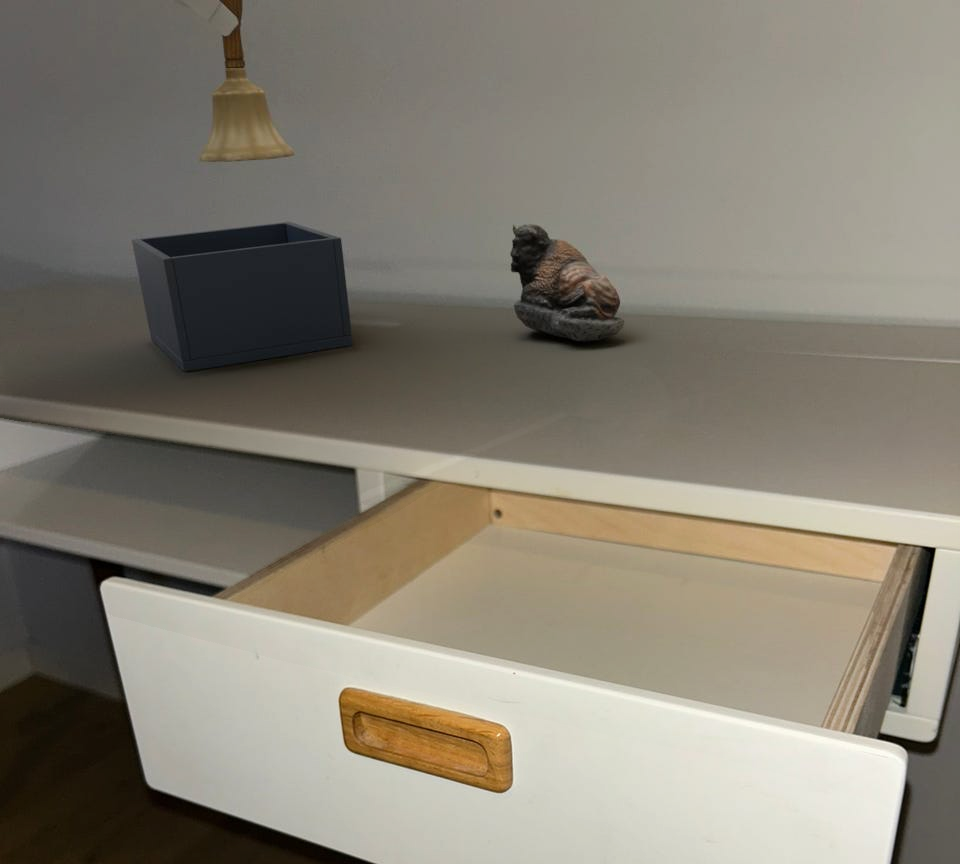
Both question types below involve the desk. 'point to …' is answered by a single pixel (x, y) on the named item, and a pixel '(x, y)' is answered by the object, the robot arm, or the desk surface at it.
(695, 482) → the desk surface
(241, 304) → the bin
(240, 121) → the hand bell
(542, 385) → the desk surface
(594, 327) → the bison figurine
